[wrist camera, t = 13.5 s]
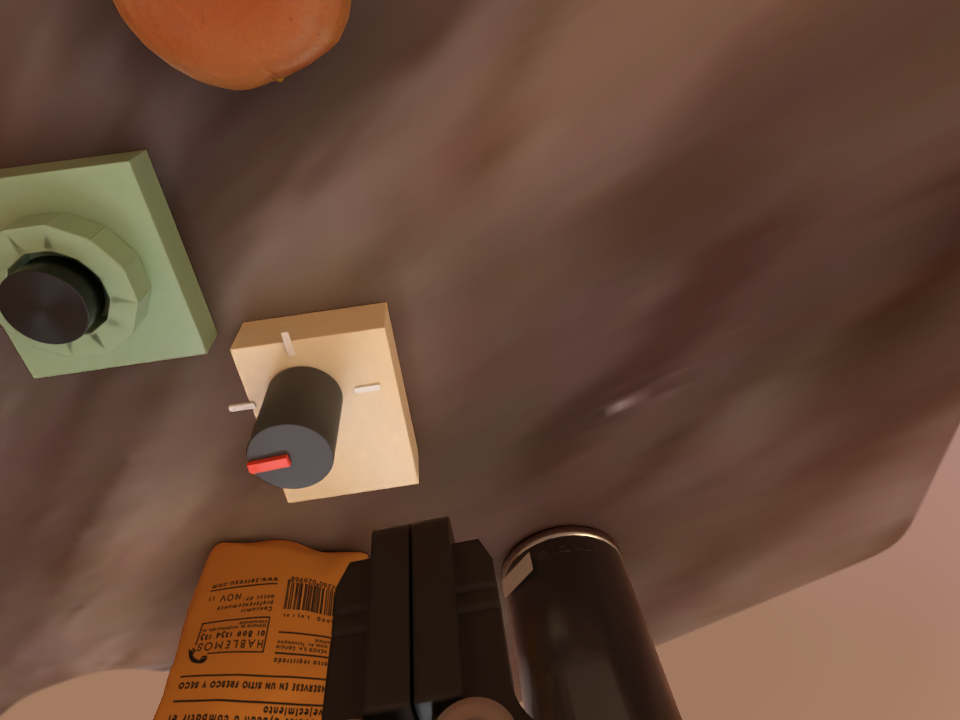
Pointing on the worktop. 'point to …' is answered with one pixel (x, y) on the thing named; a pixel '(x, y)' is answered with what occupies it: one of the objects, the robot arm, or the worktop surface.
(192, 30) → the burger
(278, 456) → the dial
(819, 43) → the worktop surface
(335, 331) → the panel
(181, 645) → the coffee package
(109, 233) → the button box
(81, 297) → the button
